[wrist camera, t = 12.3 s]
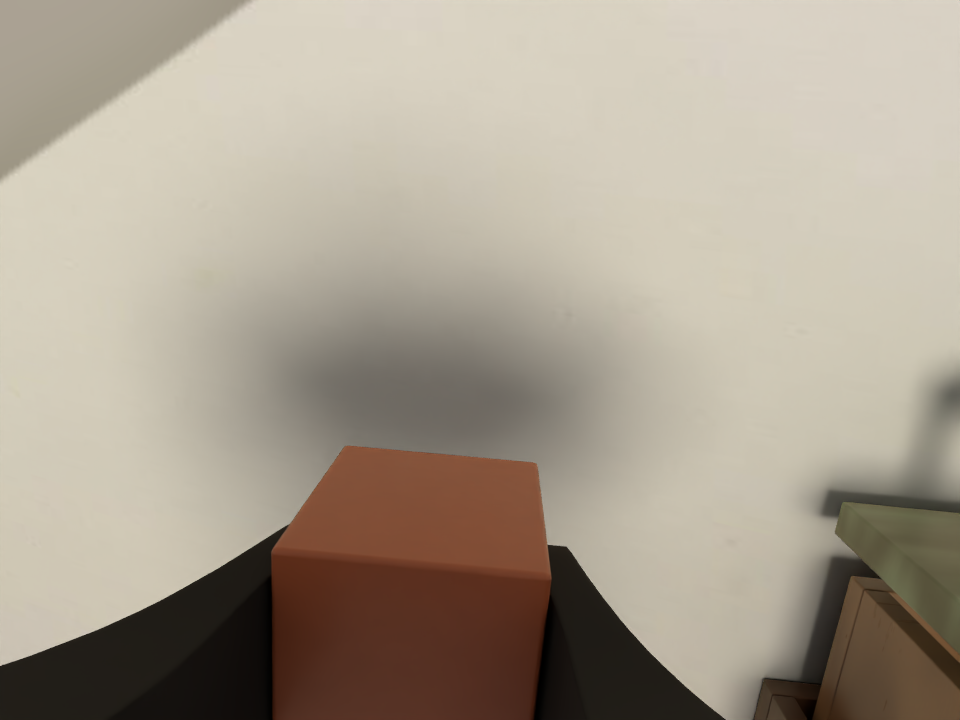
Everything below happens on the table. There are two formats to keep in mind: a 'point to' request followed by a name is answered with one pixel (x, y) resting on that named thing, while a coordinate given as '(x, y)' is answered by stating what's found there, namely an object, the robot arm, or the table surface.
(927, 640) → the drawer
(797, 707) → the cabinet
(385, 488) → the block
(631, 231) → the table surface
